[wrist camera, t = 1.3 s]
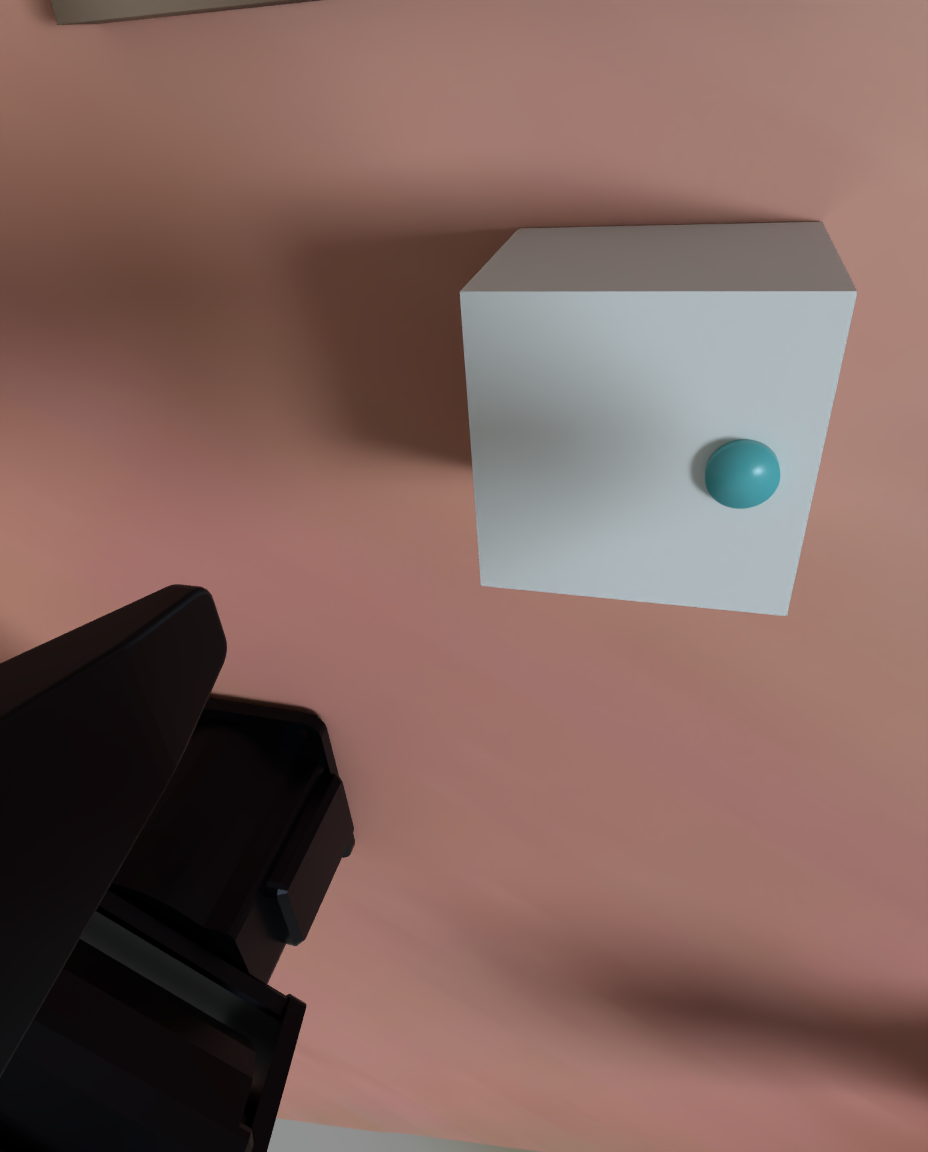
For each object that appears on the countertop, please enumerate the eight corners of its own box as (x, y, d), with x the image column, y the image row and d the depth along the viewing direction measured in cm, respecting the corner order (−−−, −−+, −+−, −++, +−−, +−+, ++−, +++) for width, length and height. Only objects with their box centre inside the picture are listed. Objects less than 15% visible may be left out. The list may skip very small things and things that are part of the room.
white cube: (525, 478, 16) (478, 592, 13) (519, 228, 14) (455, 295, 10) (772, 493, 15) (788, 623, 12) (822, 221, 12) (859, 295, 9)
